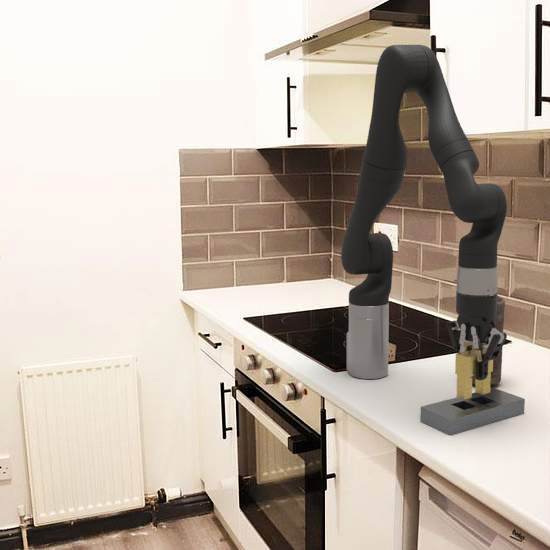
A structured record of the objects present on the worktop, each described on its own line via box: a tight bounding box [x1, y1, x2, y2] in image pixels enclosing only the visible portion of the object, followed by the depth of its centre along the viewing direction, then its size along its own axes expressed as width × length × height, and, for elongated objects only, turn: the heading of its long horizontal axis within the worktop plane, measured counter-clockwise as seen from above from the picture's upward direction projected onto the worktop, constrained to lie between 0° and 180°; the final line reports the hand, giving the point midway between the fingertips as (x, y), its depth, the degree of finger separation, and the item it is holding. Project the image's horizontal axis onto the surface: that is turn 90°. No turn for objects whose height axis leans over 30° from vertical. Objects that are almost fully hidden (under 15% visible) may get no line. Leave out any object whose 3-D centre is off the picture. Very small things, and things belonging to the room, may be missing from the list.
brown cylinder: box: [472, 295, 506, 387], centre depth 155 cm, size 8×7×20 cm
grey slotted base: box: [420, 387, 526, 436], centre depth 137 cm, size 8×20×3 cm, turn 121°
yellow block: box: [454, 349, 493, 399], centre depth 136 cm, size 3×7×8 cm, turn 120°
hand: (474, 376), depth 136 cm, fingers closed on yellow block, 3 cm apart
